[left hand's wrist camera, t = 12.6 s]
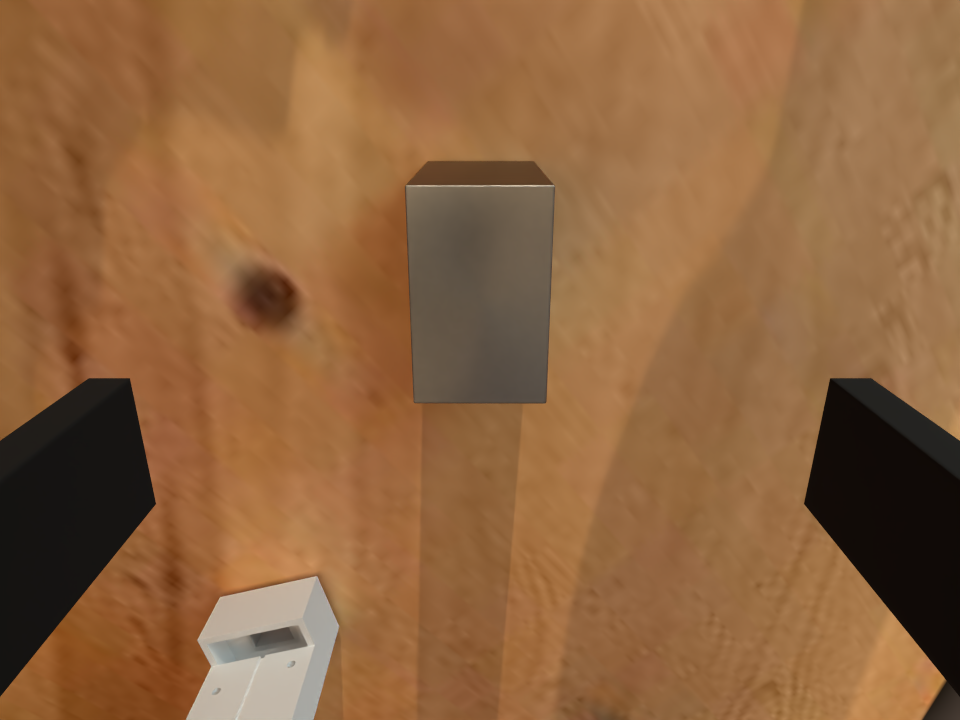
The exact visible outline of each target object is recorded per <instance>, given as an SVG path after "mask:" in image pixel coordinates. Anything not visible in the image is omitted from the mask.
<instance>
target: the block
mask: <svg viewBox="0 0 960 720" xmlns="http://www.w3.org/2000/svg"><path fill="white" fill-rule="evenodd" d="M405 198H406V223H407V248H408V273H409V298H410V323H411V347H412V372H413V397H414V403H546V397H547V372H548V348H549V323H550V298H551V273H552V248H553V224H554V199H555V186H554V184H553V183H552V182H551V181H550V180H549V179H548V177H547V176H546V175H545V174H544V173H543V172H542V170H541V169H540V168H539V167H538V166H537V164H536V163H535V162H534V161H428V162H427V163H426V164H425V165H424V166H423V167H422V168H421V169H420V170H419V172H418V173H417V174H416V175H415V176H414V177H413V178H412V179H411V180H410V181H409V182H408V183H407V185H406V186H405Z"/></svg>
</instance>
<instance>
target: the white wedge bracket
mask: <svg viewBox="0 0 960 720" xmlns="http://www.w3.org/2000/svg"><path fill="white" fill-rule="evenodd" d="M338 629H339V625H338V623H337V620H336V618H335V616H334V614H333V611H332V609H331V607H330V604H329V602H328V600H327V598H326V595H325V593H324V591H323V588H322V586H321V584H320V582H319V579H318V577H317V576H315V577H310V578H306V579H301V580H296V581H292V582H287V583H283V584H278V585H274V586H269V587H264V588H260V589H255V590H251V591H246V592H242V593H237V594H232V595H228V596H223V597H220V598H219V600H218V602H217V604H216V606H215V608H214V610H213V611H212V613H211V615H210V617H209V619H208V621H207V623H206V625H205V627H204V628H203V630H202V632H201V634H200V636H199V638H198V640H197V641H198V643H199V644H200V646H201V648H202V650H203V652H204V654H205V655H206V657H207V659H208V661H209V663H210V665H211V668H210V670H209V673H208V675H207V677H206V679H205V681H204V683H203V685H202V687H201V689H200V691H199V693H198V695H197V698H196V700H195V702H194V704H193V706H192V708H191V710H190V712H189V714H188V716H187V718H186V720H314V716H315V712H316V709H317V705H318V701H319V698H320V694H321V690H322V687H323V683H324V680H325V676H326V672H327V669H328V665H329V661H330V658H331V654H332V650H333V647H334V643H335V639H336V636H337V632H338Z"/></svg>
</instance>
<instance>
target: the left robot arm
mask: <svg viewBox="0 0 960 720" xmlns="http://www.w3.org/2000/svg"><path fill="white" fill-rule="evenodd" d="M155 504H156V502H155V497H154V492H153V488H152V483H151V478H150V473H149V468H148V464H147V459H146V454H145V449H144V444H143V440H142V435H141V430H140V425H139V420H138V416H137V411H136V406H135V401H134V396H133V392H132V387H131V382H130V378H89V379H87V380H86V381H85V382H83V383H82V384H80V385H79V386H77V387H76V388H75V389H73V390H72V391H70V392H69V393H67V394H66V395H65V396H63V397H62V398H60V399H59V400H58V401H56V402H55V403H53V404H52V405H50V406H49V407H48V408H46V409H45V410H43V411H42V412H41V413H39V414H38V415H36V416H35V417H33V418H32V419H31V420H29V421H28V422H26V423H25V424H23V425H22V426H21V427H19V428H18V429H16V430H15V431H14V432H12V433H11V434H9V435H8V436H6V437H5V438H4V439H2V440H1V441H0V696H1V695H2V694H3V693H4V691H5V690H6V689H7V688H8V686H9V685H10V684H11V683H12V681H13V680H14V679H15V678H16V676H17V675H18V674H19V673H20V671H21V670H22V669H23V668H24V667H25V665H26V664H27V663H28V662H29V660H30V659H31V658H32V657H33V655H34V654H35V653H36V652H37V650H38V649H39V648H40V647H41V645H42V644H43V643H44V642H45V641H46V639H47V638H48V637H49V636H50V634H51V633H52V632H53V631H54V629H55V628H56V627H57V626H58V624H59V623H60V622H61V621H62V620H63V618H64V617H65V616H66V615H67V613H68V612H69V611H70V610H71V608H72V607H73V606H74V605H75V603H76V602H77V601H78V600H79V598H80V597H81V596H82V595H83V594H84V592H85V591H86V590H87V589H88V587H89V586H90V585H91V584H92V582H93V581H94V580H95V579H96V577H97V576H98V575H99V574H100V573H101V571H102V570H103V569H104V568H105V566H106V565H107V564H108V563H109V561H110V560H111V559H112V558H113V556H114V555H115V554H116V553H117V551H118V550H119V549H120V548H121V547H122V545H123V544H124V543H125V542H126V540H127V539H128V538H129V537H130V535H131V534H132V533H133V532H134V530H135V529H136V528H137V527H138V525H139V524H140V523H141V522H142V521H143V519H144V518H145V517H146V516H147V514H148V513H149V512H150V511H151V509H152V508H153V507H154V506H155ZM804 504H805V506H806V507H807V508H808V509H809V511H810V512H811V513H812V514H813V516H814V517H815V518H816V519H817V521H818V522H819V523H820V524H821V525H822V527H823V528H824V529H825V530H826V532H827V533H828V534H829V535H830V537H831V538H832V539H833V540H834V542H835V543H836V544H837V545H838V547H839V548H840V549H841V550H842V551H843V553H844V554H845V555H846V556H847V558H848V559H849V560H850V561H851V563H852V564H853V565H854V566H855V568H856V569H857V570H858V571H859V573H860V574H861V575H862V576H863V577H864V579H865V580H866V581H867V582H868V584H869V585H870V586H871V587H872V589H873V590H874V591H875V592H876V594H877V595H878V596H879V597H880V598H881V600H882V601H883V602H884V603H885V605H886V606H887V607H888V608H889V610H890V611H891V612H892V613H893V615H894V616H895V617H896V618H897V620H898V621H899V622H900V623H901V624H902V626H903V627H904V628H905V629H906V631H907V632H908V633H909V634H910V636H911V637H912V638H913V639H914V641H915V642H916V643H917V644H918V645H919V647H920V648H921V649H922V650H923V652H924V653H925V654H926V655H927V657H928V658H929V659H930V660H931V662H932V663H933V664H934V665H935V667H936V668H937V669H938V670H939V671H940V673H941V674H942V675H943V676H944V678H945V679H946V680H947V681H948V683H949V684H950V685H951V686H952V688H953V689H954V690H955V691H956V693H957V694H958V695H959V696H960V441H959V440H958V439H956V438H955V437H954V436H952V435H951V434H949V433H948V432H946V431H945V430H944V429H942V428H941V427H939V426H938V425H937V424H935V423H934V422H932V421H931V420H929V419H928V418H927V417H925V416H924V415H922V414H921V413H919V412H918V411H917V410H915V409H914V408H912V407H911V406H910V405H908V404H907V403H905V402H904V401H902V400H901V399H900V398H898V397H897V396H895V395H894V394H893V393H891V392H890V391H888V390H887V389H885V388H884V387H883V386H881V385H880V384H878V383H877V382H875V381H874V380H873V379H871V378H830V382H829V387H828V392H827V396H826V401H825V406H824V411H823V416H822V420H821V425H820V430H819V435H818V440H817V444H816V449H815V454H814V459H813V464H812V468H811V473H810V478H809V483H808V488H807V492H806V497H805V502H804Z"/></svg>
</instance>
